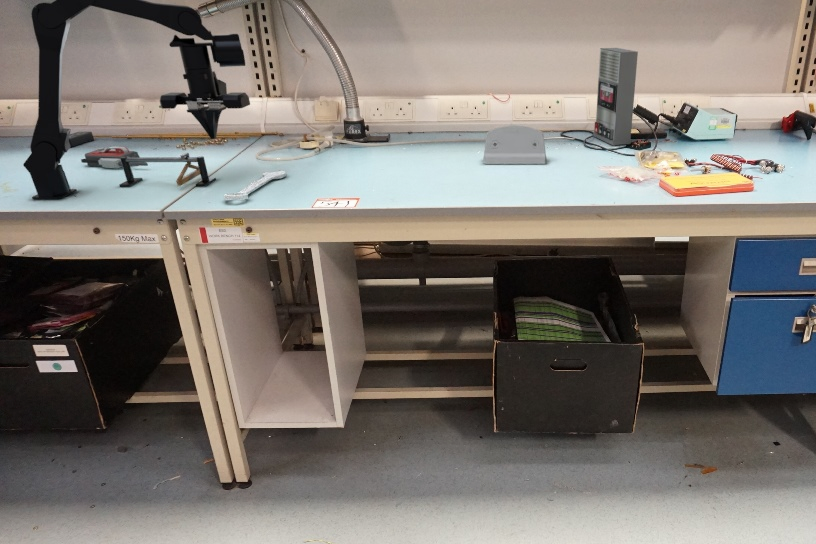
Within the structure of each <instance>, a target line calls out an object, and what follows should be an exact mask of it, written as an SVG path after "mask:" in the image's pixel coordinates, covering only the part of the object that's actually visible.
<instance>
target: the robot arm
mask: <svg viewBox="0 0 816 544" xmlns="http://www.w3.org/2000/svg"><path fill="white" fill-rule="evenodd" d="M90 7H93V8H98V9H102V10H107V11H111V12H115V13H120V14H123V15H127V16H131V17H135V18H138V19H143V20H147V21H151V22H154V23H156V24H159V25H161V26H164V27H166V28H168V29H170V30H173V31H175V32H177V33H180V34H182V35H185V36H189V37H182V38H181V37H180V36H178V34H174V35H173V38H172V40H171V41H170V42H169V44H168V46H169V47H170V48H179V52H180V56H181V61H182V66H183V69H184V73H183V74H182V77H183V80H186V82H187V87H188V92H189V93H185V92H168V93H164V94H162V95H160V97H159V104H160V108H161V109H166V110H169V109H172V110H173V109H174V110H175V109H176V107H177V106H187V109H186V112H187V113H189V114H191V115H192V116H193V118H195V119H196V121H197V122H198V123H199V124H200V125H201V127H202V128H203V130H204V131H205V132H206V134H207V135H208V136H209V138H210V139H211V140H216V139H217V137H218V136H217V135H218V127H219V120H220V116H221V114H222V112H223V111H224V110H227V109H244V108H246V107H248V106H251V102H250V97H249V96H248V94H247V93H246V92H228V90H227V82H225V81H223V80H221V79H218V77H217V73H216V71H215V70H214V71H213V68H212V64H211V58H212V61H213V62H212V63H216V64H218V66H219V67H220V68H225V67H226V68H227V67H228V68H229V67H232V68H233V67H245V66H246V59H245V53H244V52H245V51H244V50H243V47H242V44H241V39H240V34H239V33H230V34H212V31H211V30H208V28H207V27H206V26H204V24H203V20H202V18H201V15H200V14H199V12H198V11H197V10H196V9H194V7H191V6H188V5H181V4H170V3H161V2H160V3H159V2H153V1H148V0H54V1H52V2H50V1H47V2H40V3H37V4H36V5H34V6H33V7H32V9H31V21H32V27H33V31H34V35H35V39H36V42H37V46H38V102H37V103H38V106H37V107H38V110H37V111H38V113H37V120H36V123H35V126H34V130H33V132H32V133H33V134H32V137H31V142H30V145H29V147H30V148H29V149H30V152H31V153H30V155H29V156H28V157H27V159H26V160H25V161H24V162H23V167H24V169H26V170H27V172H28V173H29V175H30V177H31V179H32V183H33V185H34V188H35V191H36V193H37V194H35V195H32V196H31V199H32V200H61V199H65V198H66V197H68V196H70V195H72V194H74V193H77V192H78V189H77V188H71V187H70V184H69V181H68V178H67V175H66V172H65V170H64V168H63V165H62V164H61V160H62V158H63V156H64V155H65V153H67V152H68V151H69V149H70V148H71V147H70V143H69V135H70V134H71V128H67V127H64V126H63V122H62V83H63V82H62V81H63V79H62V78H63V76H62V75H63V53H64V49H65V46H66V42H67V39H68V35H69V30H70V27H71V21H72V20H73V19H75V17H77V16H78V15H80V14H81V13H83V12H85V10H87V9H88V8H90ZM191 36H196V37H197V38H200V39H201V40H203V41H210V42H196V40H195V38H194V37H191ZM208 47H209V48H210V53H211V56H212V57H211V58H210V54H209V49H208Z"/></svg>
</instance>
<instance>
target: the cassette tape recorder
mask: <svg viewBox="0 0 816 544" xmlns="http://www.w3.org/2000/svg"><path fill="white" fill-rule="evenodd" d="M638 54H639V51H637V50H631V49H626V48H620V47H604V48H603V47H601V48H599V60H598V61H599V62H598V64H599V65H598V66H599V67H598V79H597V80H598V81H597V82H598V83H597V98H596V115H595V121H594V128H593V129H594V130H593V132H592V133H593V137H594V138H597V139H599V140H601V141H603V142H604V143H606V144H609V145H612V146H614V147H616V146H620V145H628V146H629V145H631V144H632V127H633V114H634V103H635V90H636V89H635V88H636V77H637V64H638Z"/></svg>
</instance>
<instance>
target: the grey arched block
mask: <svg viewBox="0 0 816 544" xmlns="http://www.w3.org/2000/svg"><path fill="white" fill-rule="evenodd" d="M485 135H486V136H485V144H484V149H483V151H484V152H483V164H484V165H546V160H547V153H546V145H545V144H546V143H545V136H544V133H543V131H542V130H539V129H537V128H534V127H530V126H525V125H507V126H500V127H497V128H494V129H490V130H489V131H487V133H485Z"/></svg>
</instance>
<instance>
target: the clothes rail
mask: <svg viewBox="0 0 816 544" xmlns="http://www.w3.org/2000/svg"><path fill="white" fill-rule="evenodd" d="M120 160H121V163H122V166H123V167H122V169H123V173H124V176H125V180H126V181H124V182H122V183H119V187H120V188H130V187H132V186H135V185H137V184H138V183H141V182H142V181H144V180H143V177H134V174H133V170H132V166H130V163H129V162H146V163H187V162H191V163H197V166H199V170H200V178H201V180H200V181H198V182H197V183H195V185H194V186H195V187H196V188H197V187H200V188H201V187H202V188H203V187H208V186H209V185H211V184H212V183H214V182H216V181H217V177H209V173H208V169H207V165H206V160H205V157H204V156H201V155H200V156H189V157H185V160H181V156H180V157H179V156H177V157H176V156H174V157H173V156H171V157H170V156H169V157H167V156H164V157H161V156H159V157H157V156H156V157H152V156H151V157H150V156H149V157H147V156H146V157H140V156H139V157H135V158H128V157H121V158H120Z"/></svg>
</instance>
